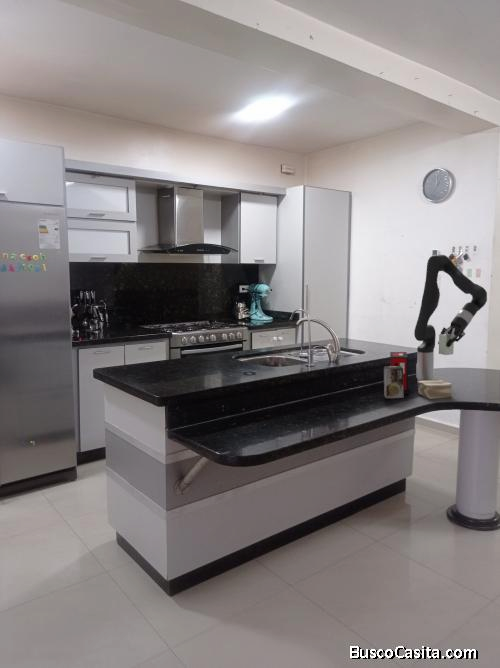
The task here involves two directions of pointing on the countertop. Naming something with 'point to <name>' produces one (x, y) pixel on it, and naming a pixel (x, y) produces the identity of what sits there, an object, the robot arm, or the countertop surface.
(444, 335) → the tea tin
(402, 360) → the cleaning product box
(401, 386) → the coffee box
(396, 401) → the countertop surface
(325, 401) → the countertop surface
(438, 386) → the birch block
